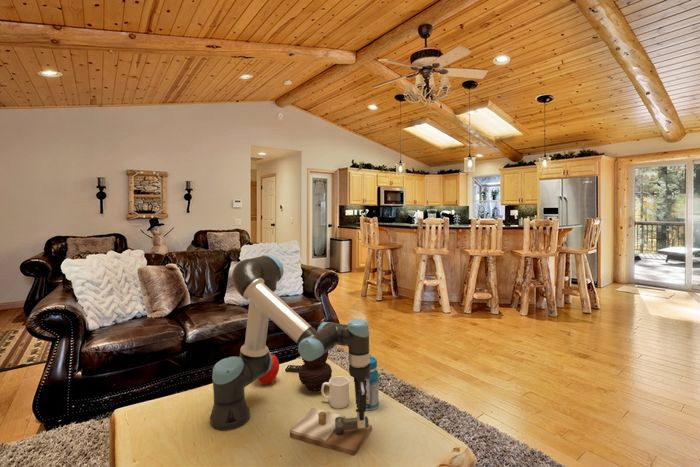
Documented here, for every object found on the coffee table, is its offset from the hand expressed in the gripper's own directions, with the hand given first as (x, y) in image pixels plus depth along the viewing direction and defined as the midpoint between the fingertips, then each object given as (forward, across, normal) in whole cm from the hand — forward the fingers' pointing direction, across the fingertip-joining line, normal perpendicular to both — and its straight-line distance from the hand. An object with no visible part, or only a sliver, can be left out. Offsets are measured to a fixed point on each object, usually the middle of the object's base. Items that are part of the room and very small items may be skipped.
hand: (361, 426), depth 138 cm
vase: (+3, +40, +14) cm, 42 cm away
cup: (+4, +25, +7) cm, 26 cm away
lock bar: (+2, +2, +3) cm, 4 cm away
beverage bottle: (+4, +21, -7) cm, 22 cm away
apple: (+3, +49, +37) cm, 62 cm away
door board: (+4, +5, +11) cm, 12 cm away
